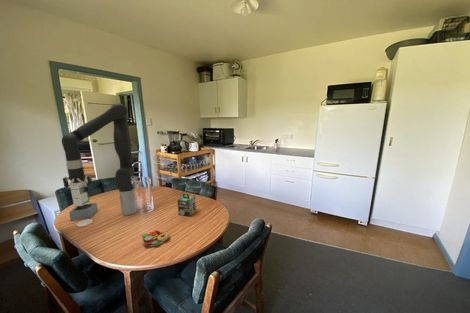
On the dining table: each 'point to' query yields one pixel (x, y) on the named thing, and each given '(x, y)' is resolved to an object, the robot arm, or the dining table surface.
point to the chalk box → (186, 205)
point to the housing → (83, 211)
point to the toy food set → (154, 238)
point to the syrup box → (79, 194)
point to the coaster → (84, 222)
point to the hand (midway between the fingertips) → (79, 192)
